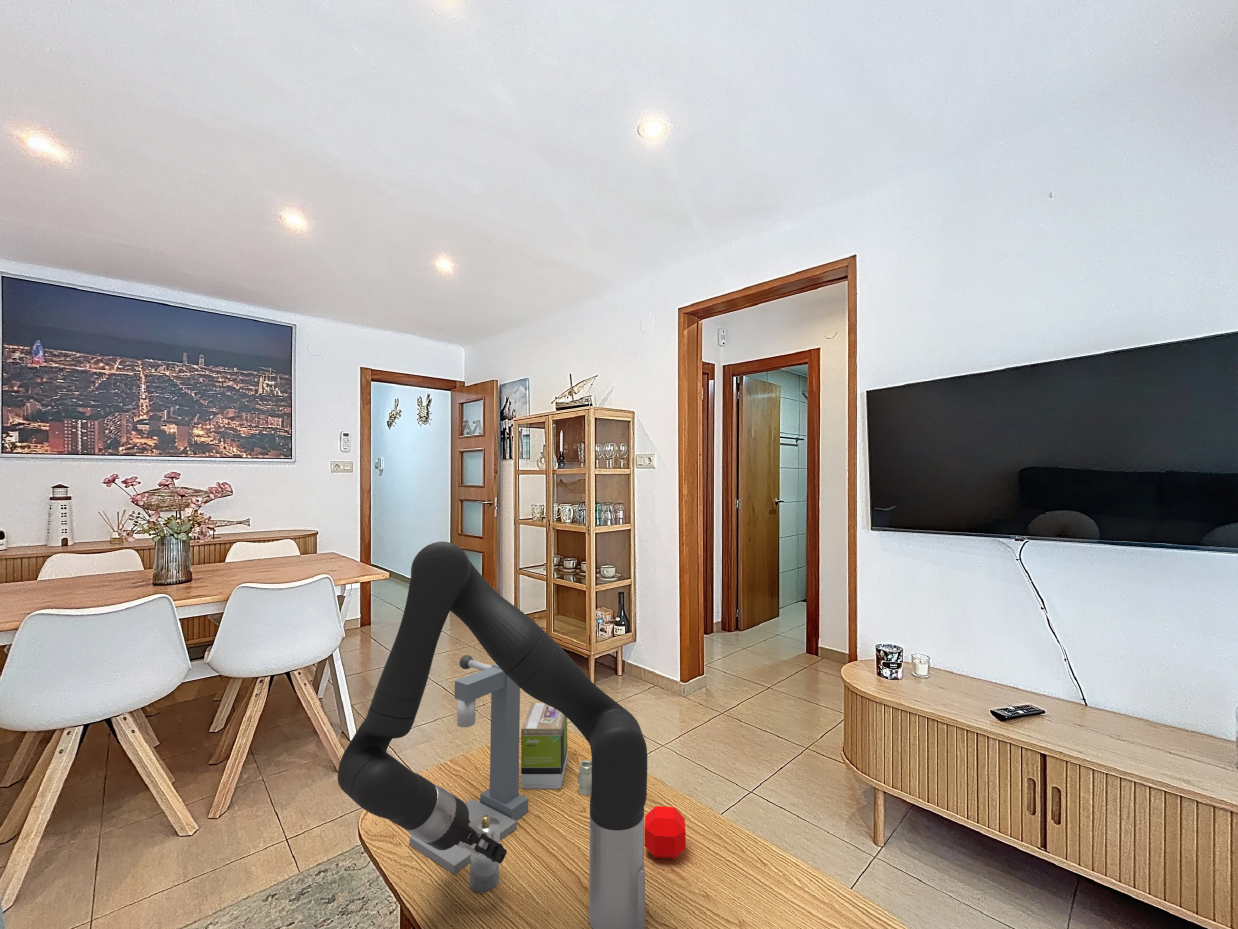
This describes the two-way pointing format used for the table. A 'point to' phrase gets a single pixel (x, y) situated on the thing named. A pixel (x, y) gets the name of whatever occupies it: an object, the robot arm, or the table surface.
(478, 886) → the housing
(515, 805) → the press
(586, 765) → the valve
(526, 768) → the tea box
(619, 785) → the robot arm
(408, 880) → the table surface
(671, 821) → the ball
